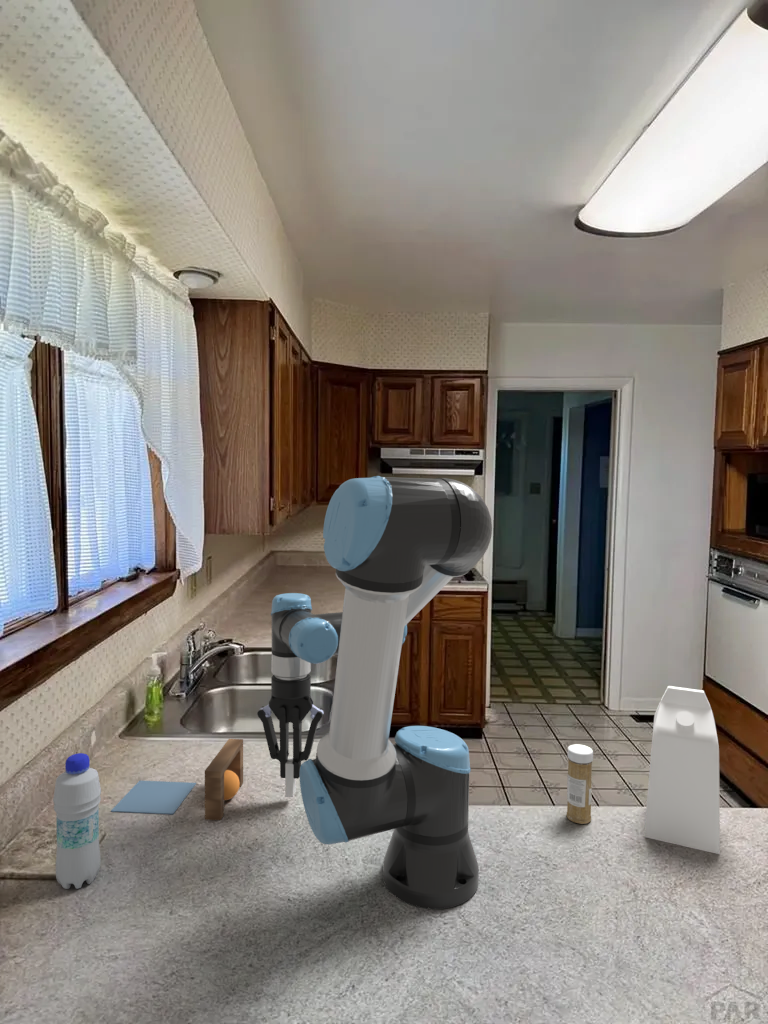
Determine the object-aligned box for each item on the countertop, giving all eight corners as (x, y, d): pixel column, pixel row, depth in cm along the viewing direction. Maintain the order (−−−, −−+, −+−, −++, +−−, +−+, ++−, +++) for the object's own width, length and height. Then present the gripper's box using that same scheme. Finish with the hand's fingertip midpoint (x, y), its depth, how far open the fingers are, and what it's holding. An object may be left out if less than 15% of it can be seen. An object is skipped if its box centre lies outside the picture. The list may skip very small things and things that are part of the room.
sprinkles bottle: (596, 820, 117) (598, 750, 117) (580, 827, 115) (582, 755, 114) (576, 809, 121) (578, 741, 120) (560, 816, 118) (562, 746, 118)
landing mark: (173, 814, 118) (173, 813, 118) (111, 811, 118) (111, 810, 118) (196, 783, 130) (196, 782, 130) (139, 781, 130) (139, 780, 130)
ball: (224, 811, 121) (240, 789, 120) (201, 794, 121) (217, 772, 121) (232, 797, 126) (248, 775, 126) (210, 780, 126) (226, 759, 126)
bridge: (243, 782, 130) (243, 739, 130) (220, 820, 116) (220, 771, 115) (229, 782, 130) (228, 738, 130) (204, 819, 116) (204, 770, 115)
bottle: (111, 872, 100) (110, 749, 99) (78, 898, 94) (76, 767, 93) (78, 863, 102) (77, 743, 101) (44, 888, 96) (42, 760, 95)
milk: (715, 821, 117) (721, 684, 116) (719, 854, 107) (725, 704, 106) (646, 806, 122) (650, 675, 121) (643, 836, 112) (648, 693, 111)
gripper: (327, 669, 124) (326, 785, 125) (262, 667, 125) (262, 782, 126) (321, 681, 117) (320, 804, 118) (252, 679, 118) (252, 801, 119)
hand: (290, 793), depth 122 cm, fingers closed
